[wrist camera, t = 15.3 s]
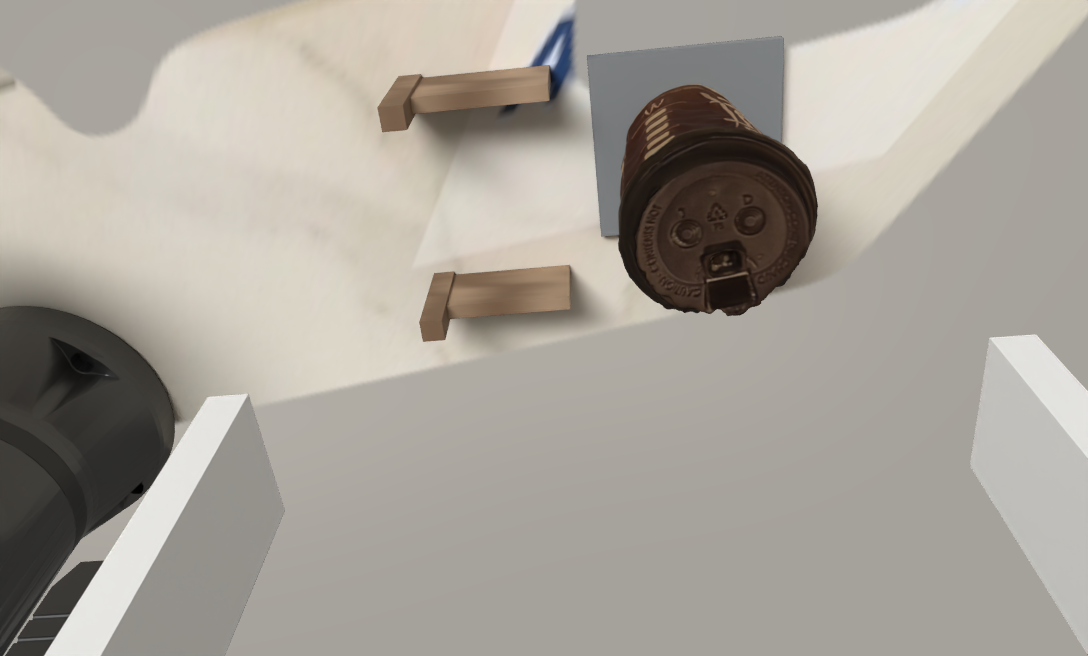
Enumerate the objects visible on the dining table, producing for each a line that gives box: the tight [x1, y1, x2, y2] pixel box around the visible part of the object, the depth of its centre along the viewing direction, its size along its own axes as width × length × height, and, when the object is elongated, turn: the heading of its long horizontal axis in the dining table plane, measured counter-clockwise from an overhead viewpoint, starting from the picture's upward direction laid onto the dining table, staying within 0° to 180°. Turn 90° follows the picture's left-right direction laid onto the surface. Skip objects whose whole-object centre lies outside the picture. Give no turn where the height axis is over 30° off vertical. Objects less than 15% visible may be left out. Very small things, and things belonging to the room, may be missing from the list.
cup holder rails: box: [378, 65, 571, 342], centre depth 48 cm, size 8×13×6 cm, turn 6°
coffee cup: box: [618, 84, 818, 316], centre depth 43 cm, size 9×8×13 cm
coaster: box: [587, 36, 784, 237], centre depth 49 cm, size 10×10×1 cm
